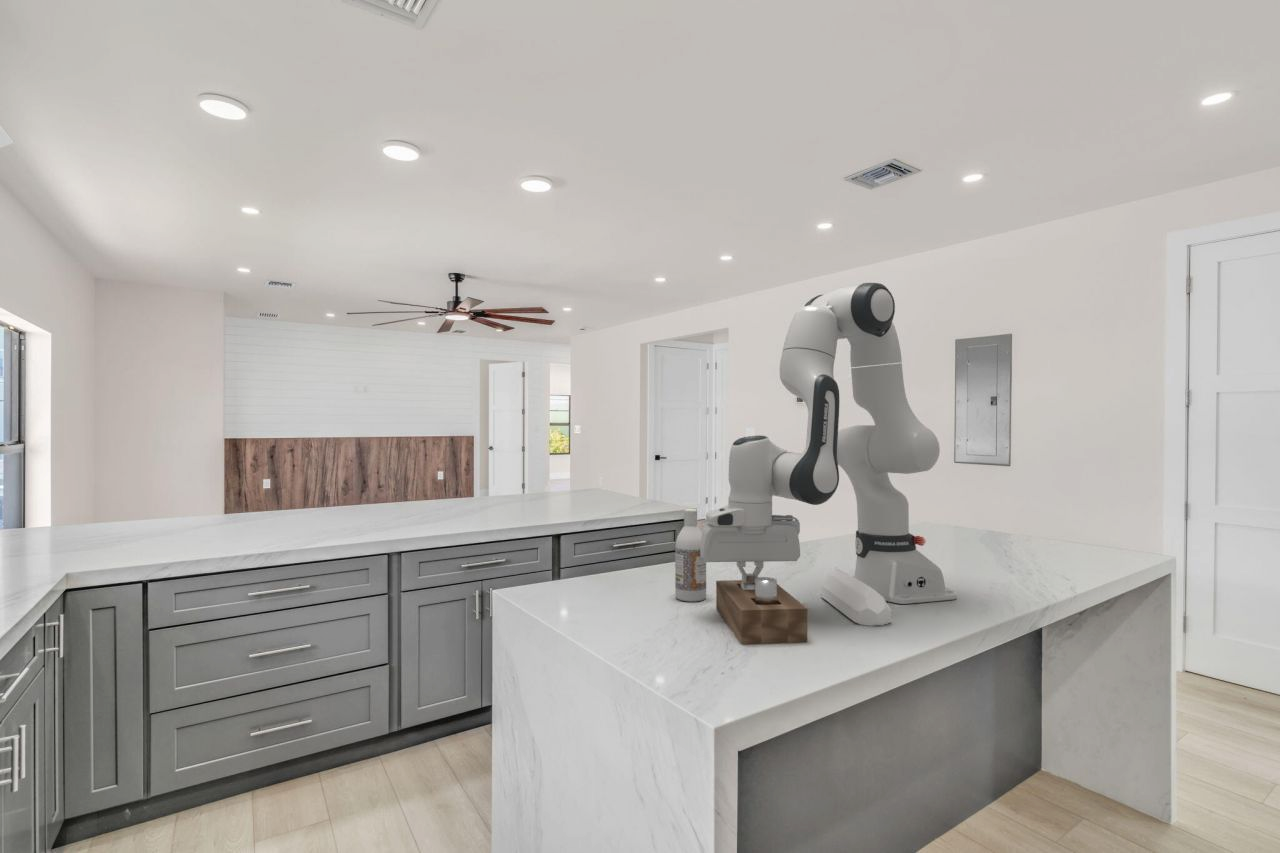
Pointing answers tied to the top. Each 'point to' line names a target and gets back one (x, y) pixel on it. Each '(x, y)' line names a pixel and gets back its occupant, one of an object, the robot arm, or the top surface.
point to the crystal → (855, 599)
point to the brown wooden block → (761, 615)
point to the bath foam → (689, 561)
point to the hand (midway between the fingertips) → (749, 583)
